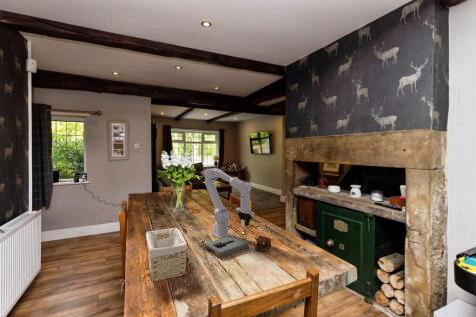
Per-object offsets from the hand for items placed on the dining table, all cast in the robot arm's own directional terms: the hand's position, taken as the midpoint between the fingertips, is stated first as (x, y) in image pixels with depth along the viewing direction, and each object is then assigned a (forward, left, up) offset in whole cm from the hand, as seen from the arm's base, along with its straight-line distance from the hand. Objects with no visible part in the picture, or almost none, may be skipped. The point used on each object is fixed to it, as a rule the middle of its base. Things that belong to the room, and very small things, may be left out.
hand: (244, 225), depth 145 cm
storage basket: (+1, -50, -10) cm, 51 cm away
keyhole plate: (+3, -16, -10) cm, 19 cm away
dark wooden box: (+16, 0, -10) cm, 19 cm away
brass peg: (0, 0, -5) cm, 5 cm away
